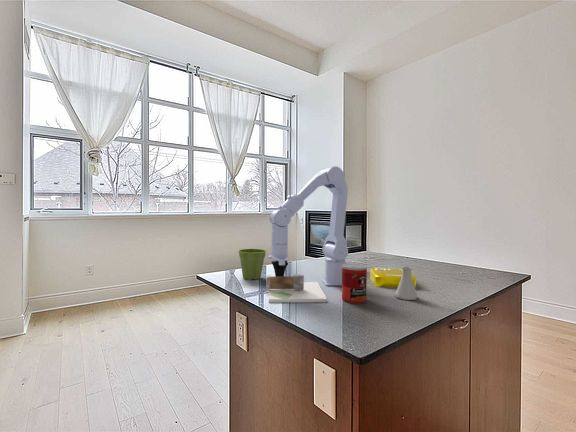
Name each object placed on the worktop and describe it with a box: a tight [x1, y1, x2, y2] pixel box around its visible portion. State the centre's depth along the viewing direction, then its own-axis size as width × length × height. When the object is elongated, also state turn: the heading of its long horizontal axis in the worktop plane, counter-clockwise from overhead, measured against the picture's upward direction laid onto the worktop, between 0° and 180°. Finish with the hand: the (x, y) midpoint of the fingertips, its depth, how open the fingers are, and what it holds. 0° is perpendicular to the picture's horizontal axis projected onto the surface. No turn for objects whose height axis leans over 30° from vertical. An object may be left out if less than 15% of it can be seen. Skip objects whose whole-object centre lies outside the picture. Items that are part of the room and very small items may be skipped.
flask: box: [394, 265, 419, 301], centre depth 100 cm, size 7×7×10 cm
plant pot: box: [237, 248, 268, 281], centre depth 124 cm, size 12×12×11 cm
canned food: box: [341, 262, 368, 304], centre depth 97 cm, size 8×8×11 cm
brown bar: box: [265, 273, 305, 290], centre depth 104 cm, size 13×4×4 cm, turn 93°
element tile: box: [369, 267, 417, 289], centre depth 119 cm, size 15×15×5 cm
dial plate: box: [268, 281, 328, 304], centre depth 104 cm, size 18×20×1 cm
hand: (279, 281), depth 109 cm, fingers closed
